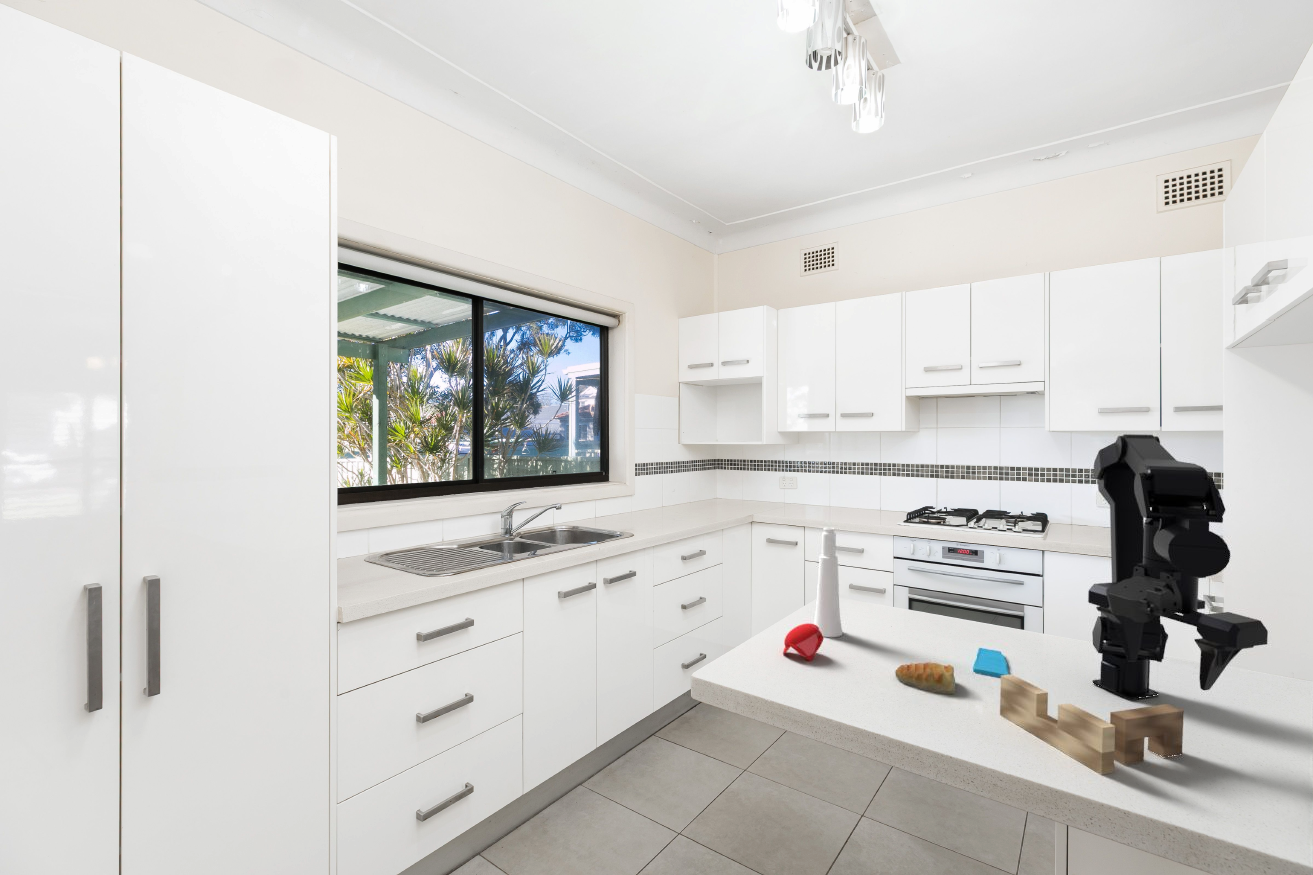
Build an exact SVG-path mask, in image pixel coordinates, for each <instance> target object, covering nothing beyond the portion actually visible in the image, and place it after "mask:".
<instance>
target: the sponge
mask: <svg viewBox="0 0 1313 875" xmlns="http://www.w3.org/2000/svg"><path fill="white" fill-rule="evenodd" d="M976 656H977V658H976V657H975V658H976V659H975V660H974V664H973V667H972V670H973V671H972V672H973V673H974V672H975V674H978V673H981V674H980V675H983V674H985V675H984V676H988V675H990V676H989V677H993V676H995V677H994V678H999V679H1001V675H1010V671H1009V665H1008V663H1007V657H1006V656H1005V655H1004V654H1003V653H1002V651H999V650H995V649H990V648H983V647H978V650H977V653H976Z"/></svg>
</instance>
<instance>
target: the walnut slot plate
mask: <svg viewBox="0 0 1313 875" xmlns="http://www.w3.org/2000/svg"><path fill="white" fill-rule="evenodd" d="M1184 714H1185V712H1184V710H1183V709H1181V708H1178V707H1176V706H1173V705H1171V704H1169V703H1164V704H1158V705H1151V706H1144V707H1137V708H1132V709H1131V708H1130V709H1129V708H1128V709H1125V710H1124V709H1123V710H1118V711H1111V712H1110V714H1109V716H1110V718H1109V719H1110V720H1109V723H1110V724H1112V725H1114V726H1115V746H1114V761H1116V762H1118V763H1119V764H1121V765H1123V766H1127V765H1132V764H1139V763H1144V762H1145V738H1148V739H1147V751H1148V750H1150V751H1152V752H1154V753H1156V754H1158V755H1161V756H1162V757H1168V756H1172V755H1173V757H1175V756H1174V755H1179V756H1181V755H1180V754H1182V755H1183V740H1184ZM1150 751H1149V752H1150ZM1152 752H1151V753H1152ZM1154 753H1153V754H1154ZM1156 754H1155V755H1156ZM1158 755H1157V756H1158ZM1162 757H1161V758H1162ZM1168 758H1169V757H1168Z"/></svg>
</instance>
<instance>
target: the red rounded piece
mask: <svg viewBox="0 0 1313 875" xmlns="http://www.w3.org/2000/svg"><path fill="white" fill-rule="evenodd" d="M783 642H784V649H783V651H782V655H785V654H786V653H787V652H788V651H789V649H790V648H792V649H793V650H794V651H796V652H797V654H798V655H800V656H802V657H804V658H805V660H806V661H813V660H814V657H815V655H816V653H817V652H818V651H819V649H820V647H821V646H822V644H823V642H824V637H823V636H822V633H821V632H820V630H819V627H818V626H817V625H815V624H814V623H811V622H810V623H802V624H799V625H797V626H795V627H793V629H791V630H790V631H788V633H787V634H786V636H785V638H784V641H783Z"/></svg>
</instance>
